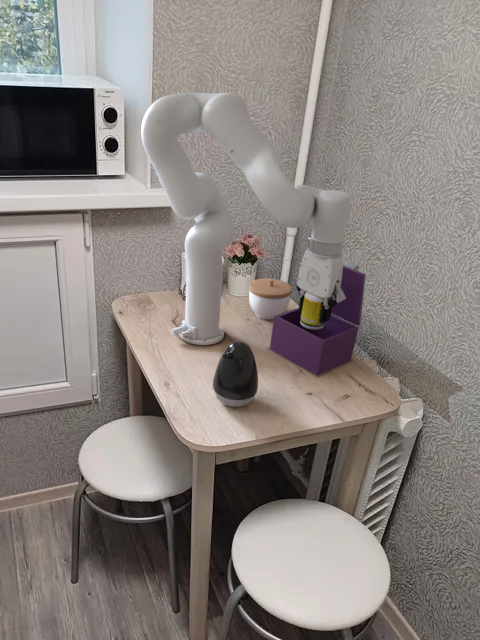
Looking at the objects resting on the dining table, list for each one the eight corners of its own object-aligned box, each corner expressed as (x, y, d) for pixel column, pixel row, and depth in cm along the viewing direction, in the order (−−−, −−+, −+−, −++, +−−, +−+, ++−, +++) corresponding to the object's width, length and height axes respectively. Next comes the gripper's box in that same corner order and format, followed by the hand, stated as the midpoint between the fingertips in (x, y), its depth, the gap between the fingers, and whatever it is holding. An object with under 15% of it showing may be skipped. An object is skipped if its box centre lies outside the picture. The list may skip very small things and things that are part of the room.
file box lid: (363, 275, 123) (379, 266, 125) (309, 254, 133) (325, 246, 136) (358, 326, 132) (372, 316, 134) (308, 303, 143) (322, 294, 145)
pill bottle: (319, 332, 130) (327, 291, 124) (296, 326, 133) (302, 285, 127) (327, 323, 134) (335, 283, 128) (305, 317, 137) (312, 277, 131)
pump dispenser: (202, 400, 120) (205, 342, 111) (230, 382, 126) (235, 326, 118) (237, 419, 114) (243, 359, 106) (264, 400, 121) (272, 342, 113)
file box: (317, 376, 131) (324, 341, 125) (269, 349, 141) (274, 316, 136) (351, 360, 138) (358, 327, 132) (303, 335, 148) (309, 303, 143)
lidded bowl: (252, 302, 166) (255, 269, 160) (291, 309, 162) (296, 276, 156) (241, 319, 156) (245, 284, 150) (283, 326, 152) (288, 291, 146)
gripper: (287, 239, 126) (278, 307, 136) (345, 260, 115) (331, 333, 125) (308, 234, 130) (298, 301, 140) (366, 254, 119) (350, 325, 129)
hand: (313, 315), depth 132 cm, fingers closed on pill bottle, 6 cm apart
